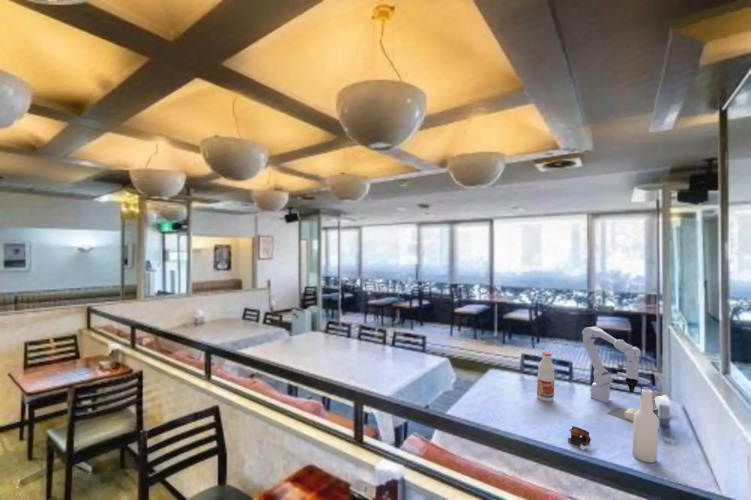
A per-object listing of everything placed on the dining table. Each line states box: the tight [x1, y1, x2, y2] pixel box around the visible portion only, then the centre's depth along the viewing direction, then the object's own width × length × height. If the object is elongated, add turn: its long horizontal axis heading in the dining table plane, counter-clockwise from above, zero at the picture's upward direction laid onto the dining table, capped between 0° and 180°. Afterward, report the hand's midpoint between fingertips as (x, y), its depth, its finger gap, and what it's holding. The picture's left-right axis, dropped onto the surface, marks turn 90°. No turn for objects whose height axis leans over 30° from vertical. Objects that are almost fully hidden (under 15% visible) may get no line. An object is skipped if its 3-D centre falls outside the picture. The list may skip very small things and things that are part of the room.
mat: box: [606, 406, 634, 424], centre depth 210 cm, size 14×16×1 cm
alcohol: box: [631, 389, 659, 464], centre depth 167 cm, size 9×9×30 cm
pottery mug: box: [567, 425, 592, 448], centre depth 177 cm, size 12×10×8 cm
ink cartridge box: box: [640, 382, 663, 409], centre depth 220 cm, size 10×6×14 cm, turn 102°
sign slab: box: [624, 407, 639, 421], centre depth 206 cm, size 4×9×7 cm
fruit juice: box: [536, 351, 555, 403], centre depth 230 cm, size 9×9×28 cm
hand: (631, 391), depth 218 cm, fingers closed
